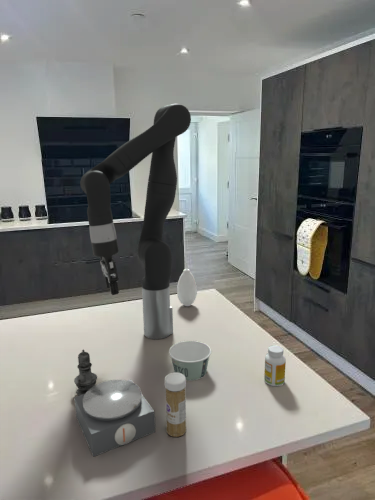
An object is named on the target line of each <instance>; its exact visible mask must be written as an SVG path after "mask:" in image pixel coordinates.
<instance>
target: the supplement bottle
mask: <svg viewBox="0 0 375 500" xmlns="http://www.w3.org/2000/svg"><path fill="white" fill-rule="evenodd" d="M263 375H264V376H263V377H264V382H265V384H267V385H269V386H271V387H281V386H283V385H284V384H285V381H286V380H285V379H286V356H285V355H284V348H283V347H282V346H280V345H276V344H275V345H270V346H268V348H267V353H266V355H265V357H264V374H263Z"/></svg>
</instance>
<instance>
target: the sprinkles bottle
mask: <svg viewBox="0 0 375 500" xmlns="http://www.w3.org/2000/svg"><path fill="white" fill-rule="evenodd" d="M186 385H187V380H186V378H185V376H184V375H183V374H181V373H177V372H175V373H174V372H170V373H168V374H167V375H166V376H165V377H164V387H165V417H166V428H165V429H166V430H165V431H166V433H167V434H168V435H169V436H171V437H174V438H176V437H177V438H178V437H182V436H183V435H184V434H185V433H187V426H186V424H187V423H186V418H187V416H186V415H187V412H186V411H187V407H186V406H187V404H186V403H187V400H186V398H187V397H186Z"/></svg>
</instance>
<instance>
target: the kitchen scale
mask: <svg viewBox="0 0 375 500" xmlns="http://www.w3.org/2000/svg"><path fill="white" fill-rule="evenodd" d="M127 381H131V382H133V380H132V379H128V380H127ZM84 395H85V394H83V395H80V396H78V395H77V396H74V397H73V399H74V408H75V417H76V420H77V423H78V425H79V426H80V429H81V431H82V434H83V436H84V438H85V441H86V443H87V445H88V448H89V450H90V452H91V455H92V457H95V456H98V455H101V454H104V453H106V452H109V451H111V450H113V449H115V448H116V449H117V448H118V447H120V446H123V445H127V444H129V443H131V442H133V441H136V440H139V439H141V438H142V437H143V438H144V437H146V436H149V435H151V434H153V433H155V432H156V424H155V423H156V420H155V418H156V417H155V410H154V409H153V407H152V406H151V404H150V403H149V402H148V400H147V399H146V398H145V396H144V394H142V401H141V404H140V406H139V407H138V408H137V409H136V410H135V411H134V412H133V413H131V414H130V415H128V416H126V417H124V418H121V419H117V420H110V421H102V420H97V419H94V418H91V417H90V416H88V415H87V414H86V413H85V411H84V409H83V397H84Z"/></svg>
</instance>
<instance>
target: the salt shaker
mask: <svg viewBox="0 0 375 500" xmlns="http://www.w3.org/2000/svg"><path fill="white" fill-rule="evenodd" d="M90 359H91V358H90V353H89V352H87V351H85V349H82V350H81V352H79V354H78V356H77V362H78V365H77V366H76V367H77V369H78V375H76V376H75V378H74V379H73V381H74V384H75V386H76V387H77V389H76V392H75V393H76V395H77V396H80V395H83V394H86V392H87V391H88V390H89V389H90V388H92V387H93V386H95V385H97V384H96V383H97V380H98V375H97V373H94V372H92V366H93V364H92V363H91V360H90Z"/></svg>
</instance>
